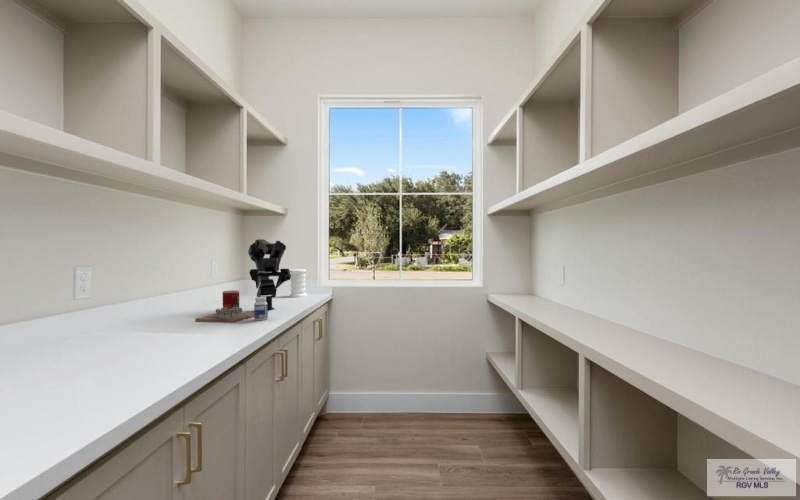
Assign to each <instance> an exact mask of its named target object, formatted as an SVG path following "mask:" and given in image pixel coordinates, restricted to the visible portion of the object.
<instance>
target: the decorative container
mask: <svg viewBox="0 0 800 500" xmlns="http://www.w3.org/2000/svg"><path fill="white" fill-rule="evenodd" d="M289 270H290V274H291V279H290V294H289V297H290V298H305V297H308V293H307V292H306V291H307V289H306V286H307V284H306V280H307V279H306V277H307V275H306V272H307V269H289Z"/></svg>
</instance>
